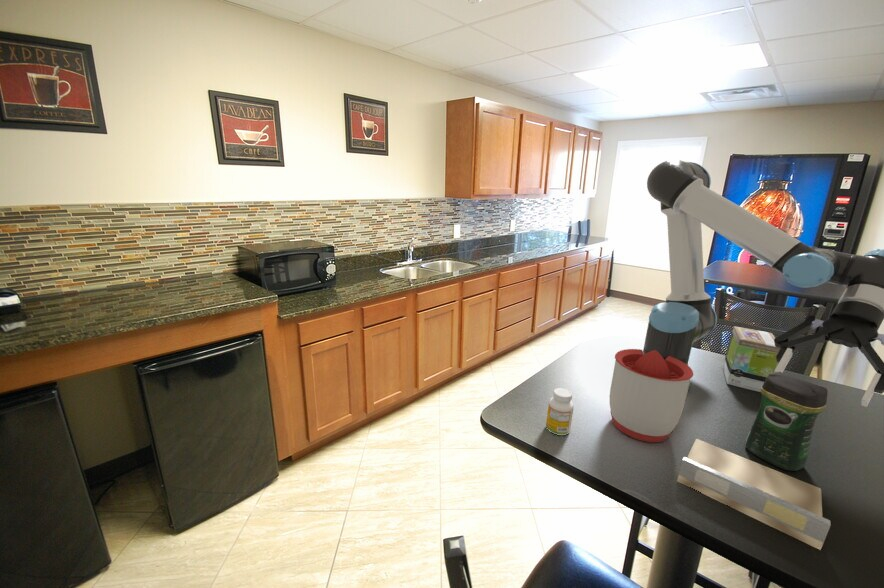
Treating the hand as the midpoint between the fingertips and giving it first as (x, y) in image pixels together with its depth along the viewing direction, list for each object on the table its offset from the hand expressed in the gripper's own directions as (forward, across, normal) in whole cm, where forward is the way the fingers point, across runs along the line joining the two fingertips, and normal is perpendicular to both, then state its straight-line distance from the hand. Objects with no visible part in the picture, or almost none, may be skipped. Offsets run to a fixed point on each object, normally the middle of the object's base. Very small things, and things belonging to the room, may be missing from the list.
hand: (817, 387), depth 79 cm
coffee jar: (+16, +2, -6) cm, 17 cm away
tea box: (-10, +21, -33) cm, 40 cm away
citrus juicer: (+27, +23, +6) cm, 36 cm away
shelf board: (+28, +1, +6) cm, 28 cm away
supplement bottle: (+40, +31, +19) cm, 54 cm away
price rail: (+32, -1, +13) cm, 34 cm away
